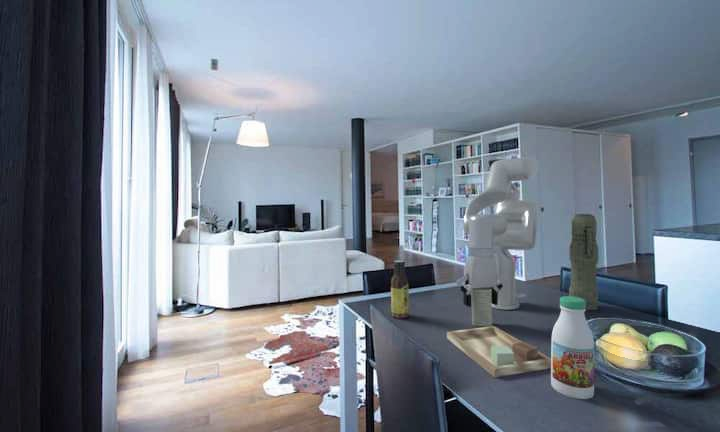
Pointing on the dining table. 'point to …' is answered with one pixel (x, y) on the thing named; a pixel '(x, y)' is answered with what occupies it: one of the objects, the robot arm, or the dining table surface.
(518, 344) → the walnut block
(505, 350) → the sage block
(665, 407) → the dining table surface
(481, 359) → the tray
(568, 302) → the milk bottle
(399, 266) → the sauce bottle
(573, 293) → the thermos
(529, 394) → the dining table surface
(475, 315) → the skincare box
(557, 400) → the dining table surface
